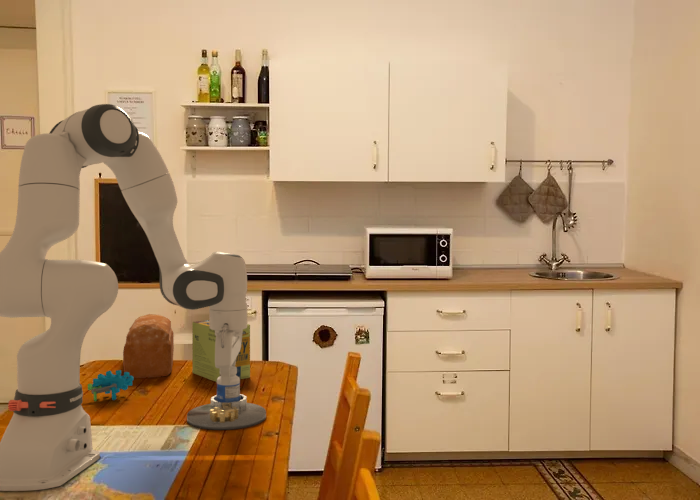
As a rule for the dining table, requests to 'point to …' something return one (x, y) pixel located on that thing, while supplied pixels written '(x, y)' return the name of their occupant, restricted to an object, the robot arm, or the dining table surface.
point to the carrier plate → (242, 422)
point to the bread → (149, 347)
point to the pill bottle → (229, 387)
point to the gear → (110, 383)
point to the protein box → (206, 352)
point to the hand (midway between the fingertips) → (228, 378)
